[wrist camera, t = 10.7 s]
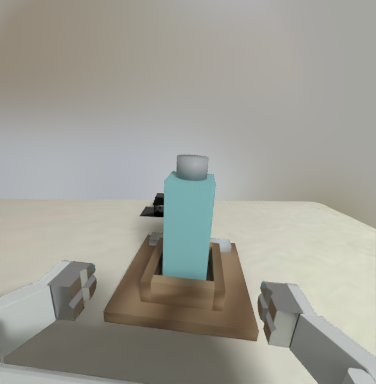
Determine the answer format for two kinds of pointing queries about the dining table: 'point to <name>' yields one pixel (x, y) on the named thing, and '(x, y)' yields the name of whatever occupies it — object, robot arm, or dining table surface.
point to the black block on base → (155, 207)
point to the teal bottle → (188, 218)
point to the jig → (185, 294)
